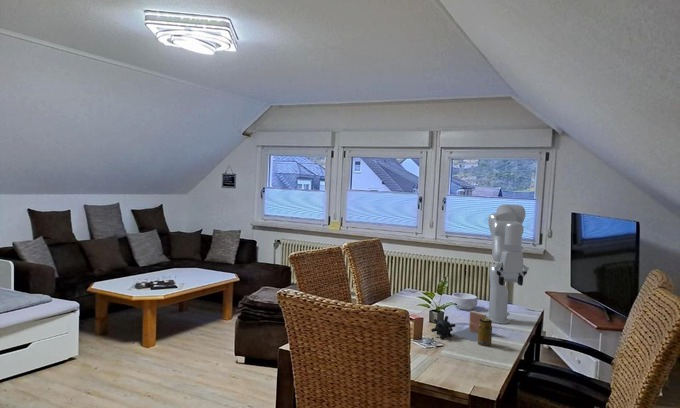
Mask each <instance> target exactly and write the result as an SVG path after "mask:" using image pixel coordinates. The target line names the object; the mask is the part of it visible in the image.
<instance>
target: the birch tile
mask: <svg viewBox="0 0 680 408" xmlns="http://www.w3.org/2000/svg"><path fill="white" fill-rule="evenodd" d="M486 317H487V314H486V313H484V312H483V313H482V312H478V311H473V310H469V319H468V320H469V322H468V323H469V324H468V328H469V331H471V332H474V333H477V334H478V326H479V324H480V319H481V318H486Z"/></svg>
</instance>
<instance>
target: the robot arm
mask: <svg viewBox="0 0 680 408" xmlns="http://www.w3.org/2000/svg"><path fill="white" fill-rule="evenodd" d="M487 219H488V228H489V232H490V235H491V237H492V240H491V241H492V242H491V244H492V246H491V249H492V251H491V252H492V253H491V256H492V259H493V261H495V262H497V263H494V264H491V265H490V267H489V271H488V273H489V281H490V282H489V285H490V287H489V301H488V315H486V318H487V319H490V320H491V321H492V324H499V325H505V324H506V325H507V324H510V321H511V320H510V319H509V318H508V316H510V312H508V303H509V302H508V301H509V290H508V289H509V288H508V287H507V286H506V284H505V283H515V284H517V285H518V286H523V285H524V283H523V282H524V278H525V275H527V274H528V271H529V269H530V268H529V267H528V266H526V265H525V264H524V256H523V255H524V254H523V250H524V246H523V245H522V241H523V240H522V238H523V234H524V227H525V226H524V225H523V223H524V222H525V219H526V210H525V207H524V206H523V205H519V204H518V205H517V204H501V205H499V206H498V207H497V208H496V212H495V213H491V214H490V215H489V216H488V218H487Z"/></svg>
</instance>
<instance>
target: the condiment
mask: <svg viewBox="0 0 680 408" xmlns="http://www.w3.org/2000/svg"><path fill="white" fill-rule="evenodd" d="M492 333H493V323H492V321H491V320H490V319H487V318H481V319H480V324H479V326H478V341H477V345H479V346H482V347H491V345H492V340H493V339H492V338H493V336H492Z"/></svg>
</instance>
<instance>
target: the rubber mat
mask: <svg viewBox="0 0 680 408" xmlns="http://www.w3.org/2000/svg"><path fill="white" fill-rule="evenodd" d="M450 333H451V334H452V336H453V337H458V338H461V339H463V340H468V341H470V342H474V343H475V342H478V334H477V333H474V332H471V331H469V327H467V328H464V329H461V330H458V331H454V332H450ZM496 334H497V333H493V332H492V337H493V336H496Z"/></svg>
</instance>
